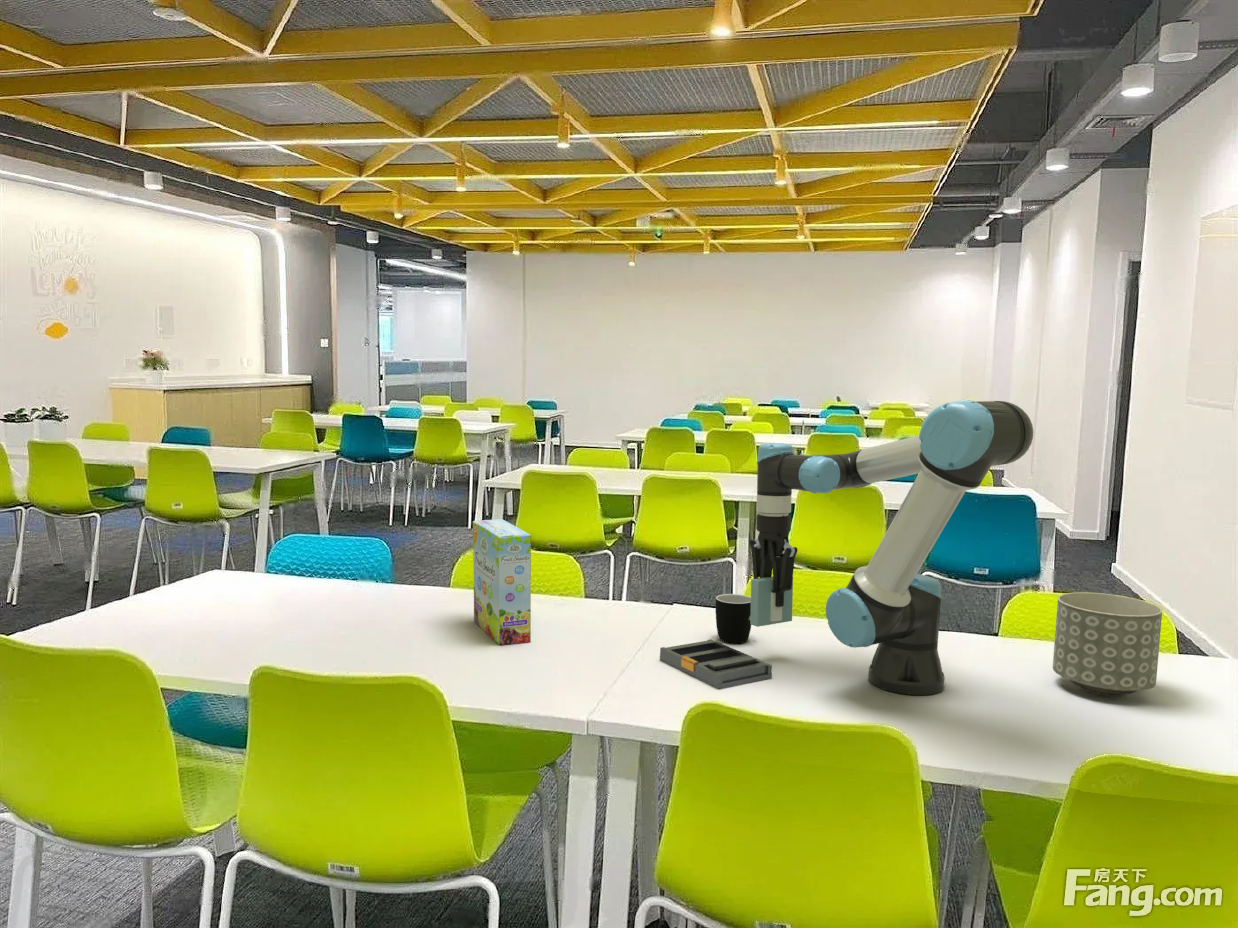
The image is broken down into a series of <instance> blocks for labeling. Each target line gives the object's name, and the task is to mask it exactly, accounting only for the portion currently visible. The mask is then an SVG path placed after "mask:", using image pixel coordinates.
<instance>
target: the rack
mask: <svg viewBox="0 0 1238 928" xmlns="http://www.w3.org/2000/svg"><path fill="white" fill-rule="evenodd" d="M659 649H660V651H659V661H661V662H663V663H665V664H667V665H669V666H672V667H673V668H674V669H677V670H679V671H681V672H683V673H685V674H686V675H689V676H691V677H693V678H695V679H697V680H699V681H701V682H703V683H705V684H707V685H709V686H711V687H714V688H715V689H717V690H722V689H727V688H732V687H735V686H736V687H737V686H741V685H746V684H751V683H755V682H760V681H761V682H762V681H765V680H770V679H772V678H773V674H772V671H773V664H770V663H768V662H765V661H763V660H761V659H759V658H756V657H754V656H751V655H749V654H747V653H744V652H742V651H740V650H737V649H734V648H733V647H730V646H728V645H725V644H724V643H721V642H719V641H717V640H715V639H712V638H710V639H707V640H703V641H696V642H691V643H684V644H680V645H679V644H678V645H673V646H667V647H665V646H663V647H662V646H661V647H660V648H659Z"/></svg>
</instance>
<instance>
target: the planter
mask: <svg viewBox="0 0 1238 928" xmlns="http://www.w3.org/2000/svg"><path fill="white" fill-rule="evenodd" d="M1055 619H1056V620H1055V632H1054V647H1053V659H1052V669H1053V672H1055V674H1056V675H1058V676H1060V677H1062V678H1065V679H1066V680H1068V681H1069V682H1071V683H1072V684H1073V685H1075V686H1077V687H1078V688H1080V689H1082V690H1085V691H1086V692H1089V693H1092V694H1097V695H1101V696H1111V697H1112V696H1113V697H1116V696H1117V697H1119V696H1125V695H1130V694H1133V693H1136V692H1140V691H1147V690H1150V689H1152V688H1154V687H1155V686H1156V685H1157V677H1158V665H1159V663H1158V662H1159V655H1160V654H1159V652H1160V642H1161V641H1160V640H1161V639H1160V638H1161V632H1162V620H1163V609H1162V608H1161V607H1160V606H1158V605H1156V604H1155V603H1152V602H1149V601H1147V600H1142V599H1139V598H1135V597H1131V596H1125V595H1124V596H1123V595H1119V594H1109V593H1102V592H1101V593H1100V592H1086V591H1085V592H1083V591H1081V592H1078V591H1077V592H1067V593H1063V594H1060V595H1059V596H1058V597H1057V605H1056V618H1055Z"/></svg>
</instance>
